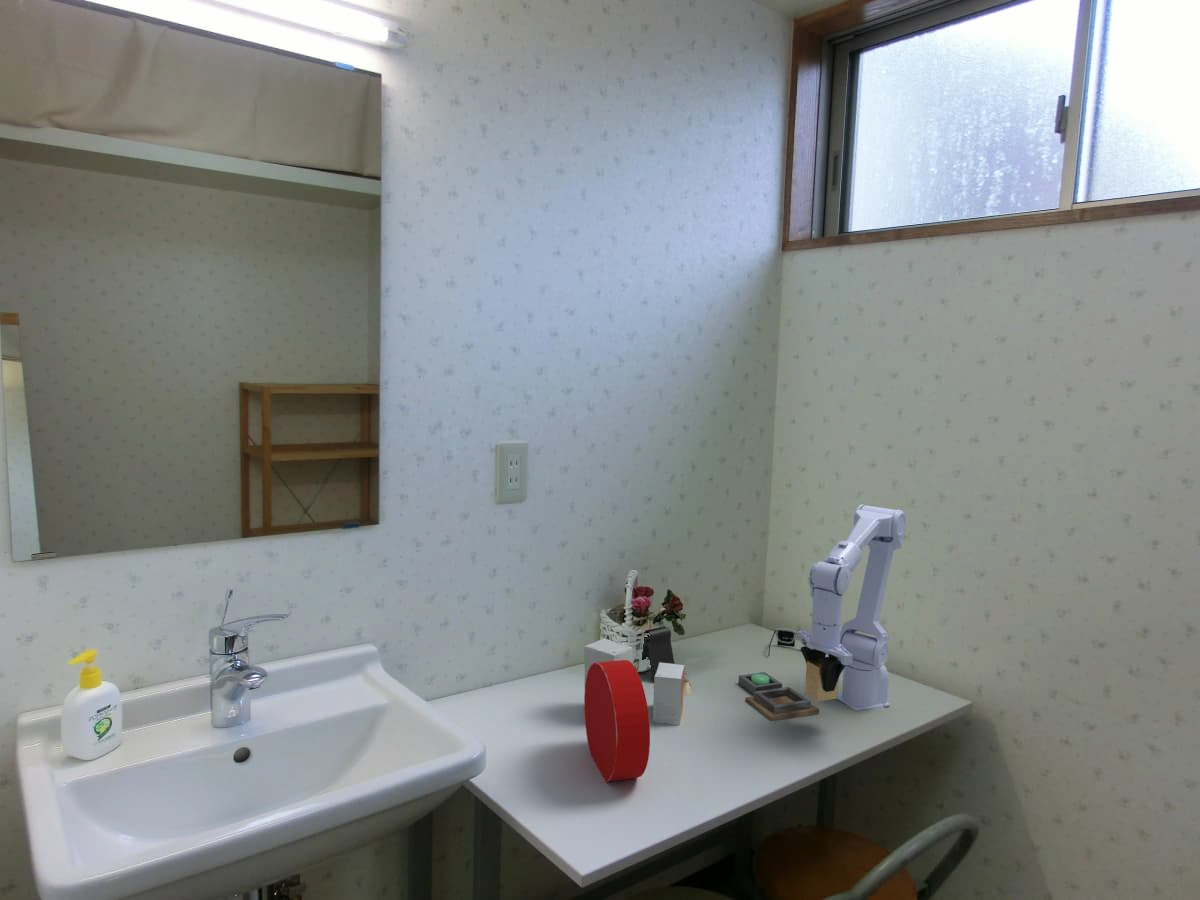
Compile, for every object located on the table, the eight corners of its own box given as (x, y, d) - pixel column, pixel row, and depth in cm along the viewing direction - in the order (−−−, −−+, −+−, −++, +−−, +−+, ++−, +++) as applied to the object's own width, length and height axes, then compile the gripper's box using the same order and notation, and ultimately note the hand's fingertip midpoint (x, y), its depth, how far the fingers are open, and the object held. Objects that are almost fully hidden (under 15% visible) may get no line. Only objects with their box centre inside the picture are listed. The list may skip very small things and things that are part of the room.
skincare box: (632, 720, 159) (635, 647, 157) (611, 730, 154) (614, 655, 152) (603, 707, 164) (605, 636, 163) (581, 716, 160) (583, 644, 158)
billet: (824, 690, 160) (826, 657, 159) (837, 698, 156) (839, 665, 156) (804, 693, 158) (806, 660, 157) (817, 701, 154) (819, 667, 154)
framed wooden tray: (790, 694, 174) (791, 684, 173) (819, 713, 164) (819, 702, 164) (745, 701, 169) (745, 690, 169) (771, 721, 160) (772, 710, 160)
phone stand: (677, 682, 179) (679, 632, 177) (657, 687, 175) (659, 636, 174) (653, 669, 186) (655, 621, 185) (633, 674, 183) (635, 625, 181)
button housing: (764, 680, 181) (764, 672, 181) (781, 693, 174) (782, 683, 174) (738, 684, 178) (738, 675, 178) (755, 697, 172) (755, 687, 172)
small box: (679, 729, 155) (681, 679, 154) (652, 725, 157) (654, 676, 155) (683, 712, 163) (685, 664, 162) (657, 709, 164) (659, 661, 163)
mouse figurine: (671, 683, 178) (672, 655, 177) (696, 695, 172) (698, 666, 171) (655, 689, 175) (656, 660, 174) (680, 701, 169) (681, 672, 168)
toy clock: (647, 800, 129) (652, 686, 127) (614, 805, 128) (618, 689, 126) (612, 744, 148) (615, 643, 146) (582, 747, 147) (585, 646, 145)
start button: (762, 681, 179) (762, 672, 179) (772, 688, 175) (772, 679, 175) (747, 684, 177) (748, 674, 177) (757, 691, 174) (757, 681, 174)
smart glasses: (823, 645, 204) (823, 628, 203) (814, 673, 192) (814, 655, 190) (777, 637, 209) (778, 620, 208) (765, 664, 196) (766, 646, 195)
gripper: (788, 612, 161) (784, 674, 162) (833, 635, 147) (828, 703, 149) (816, 609, 163) (812, 670, 165) (862, 631, 150) (858, 698, 151)
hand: (822, 686), depth 157 cm, fingers closed on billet, 4 cm apart
